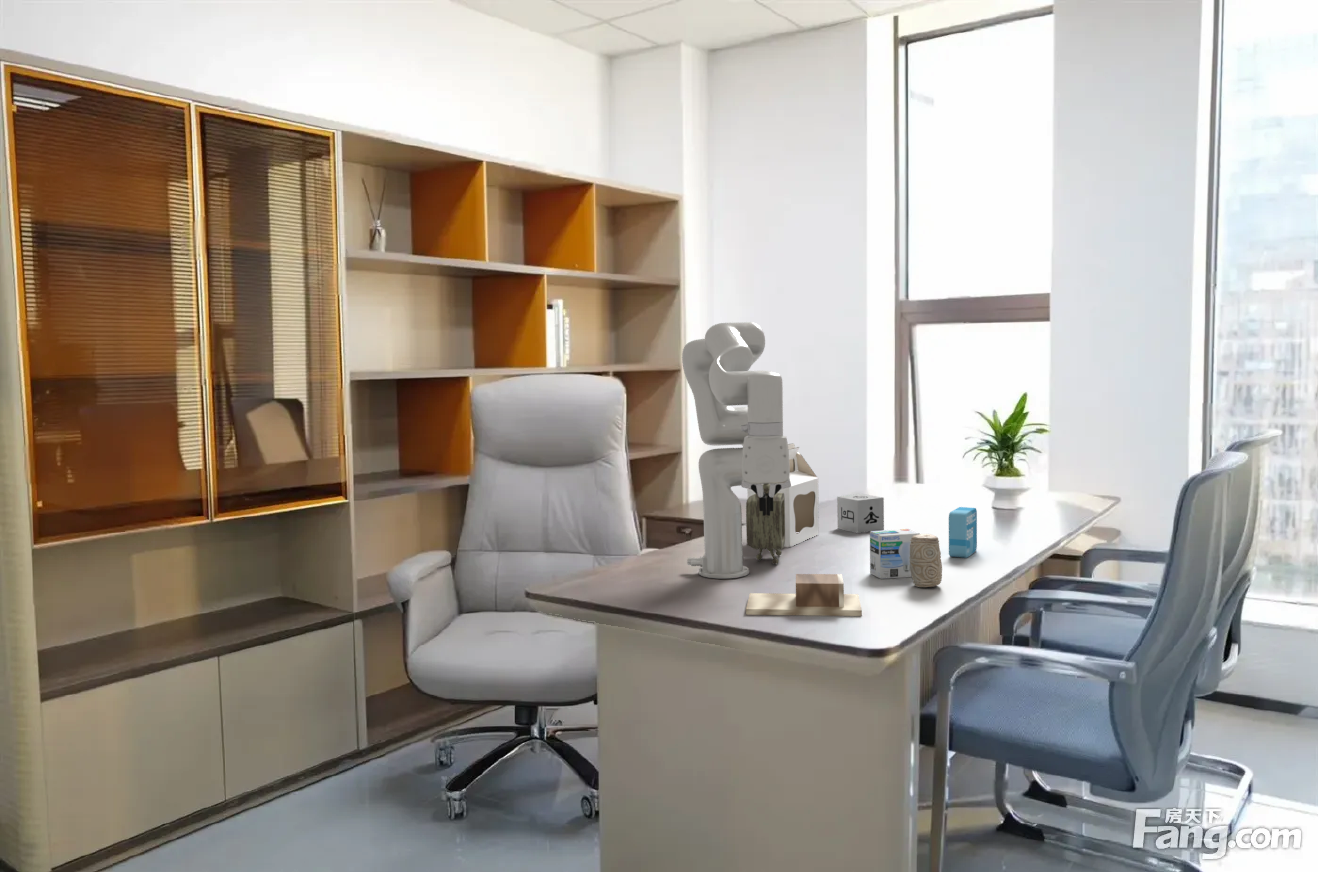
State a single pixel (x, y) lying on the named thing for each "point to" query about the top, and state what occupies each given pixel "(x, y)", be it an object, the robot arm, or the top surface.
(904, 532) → the light bulb box
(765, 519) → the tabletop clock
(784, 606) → the birch board
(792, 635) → the top surface
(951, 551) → the data package
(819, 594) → the walnut block
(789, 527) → the gable box
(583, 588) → the top surface
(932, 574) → the carving
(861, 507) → the icon cube
